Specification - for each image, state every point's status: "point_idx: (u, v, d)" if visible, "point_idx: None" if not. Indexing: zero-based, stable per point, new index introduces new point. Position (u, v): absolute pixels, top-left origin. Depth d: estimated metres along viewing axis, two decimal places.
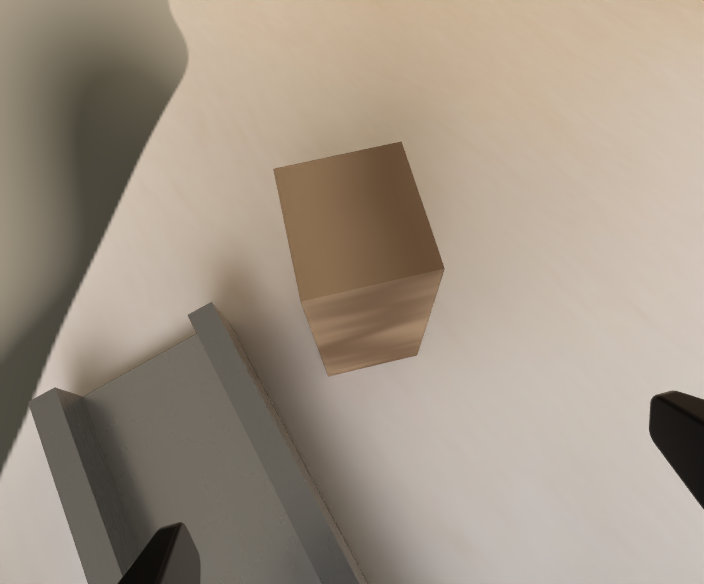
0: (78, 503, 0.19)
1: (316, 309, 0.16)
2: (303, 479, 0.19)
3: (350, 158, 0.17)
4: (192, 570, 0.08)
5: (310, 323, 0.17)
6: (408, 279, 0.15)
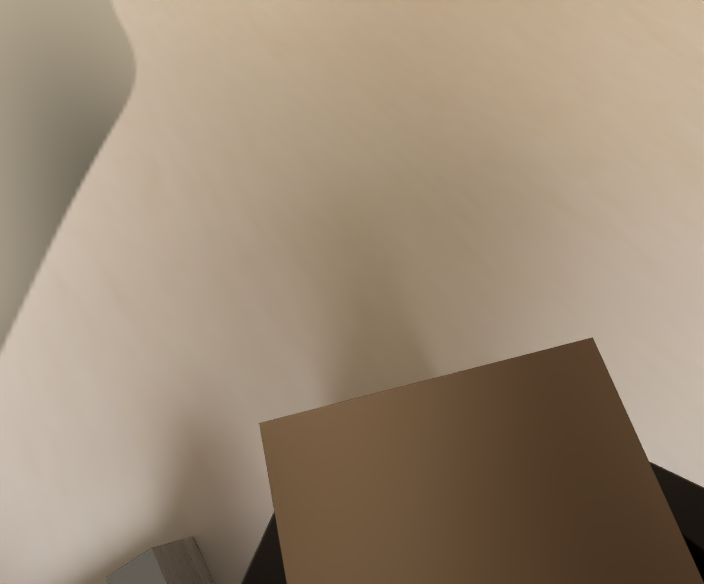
0: None
1: None
2: None
3: (464, 390, 0.06)
4: None
5: None
6: None
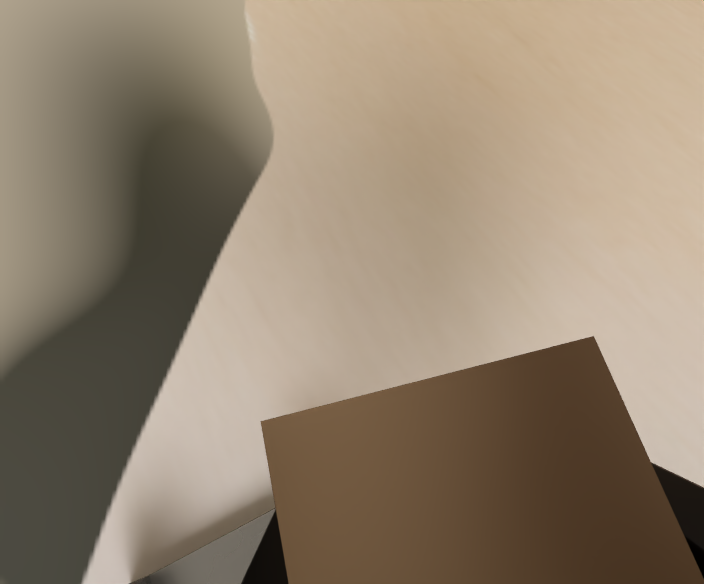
0: None
1: None
2: None
3: (465, 389, 0.06)
4: None
5: None
6: None
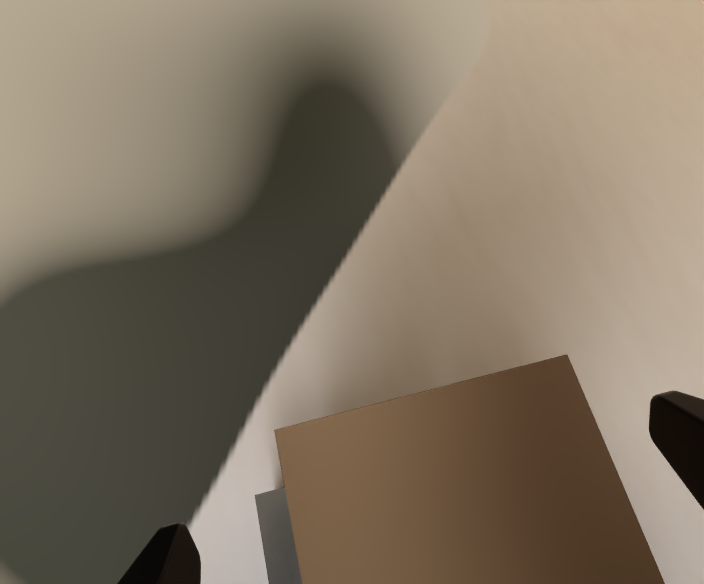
0: None
1: None
2: None
3: (454, 401, 0.07)
4: (192, 570, 0.08)
5: None
6: None
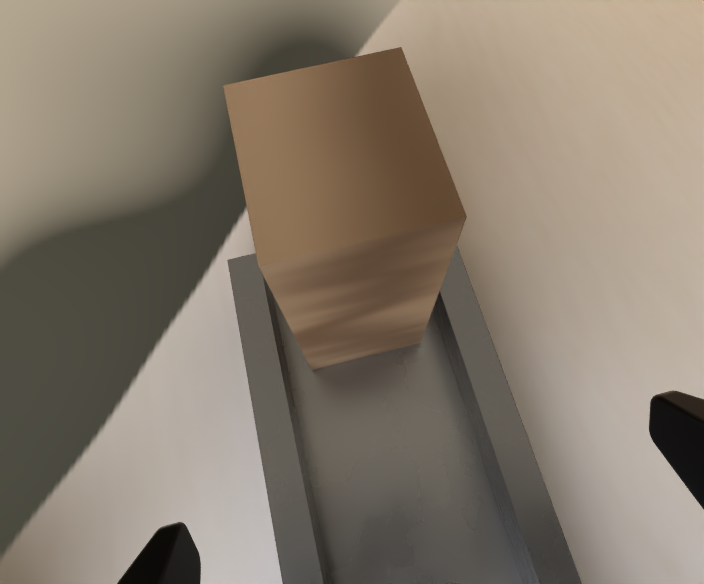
0: (265, 381, 0.17)
1: (283, 279, 0.11)
2: (524, 433, 0.16)
3: (330, 70, 0.12)
4: (192, 570, 0.08)
5: (278, 300, 0.12)
6: (413, 233, 0.10)
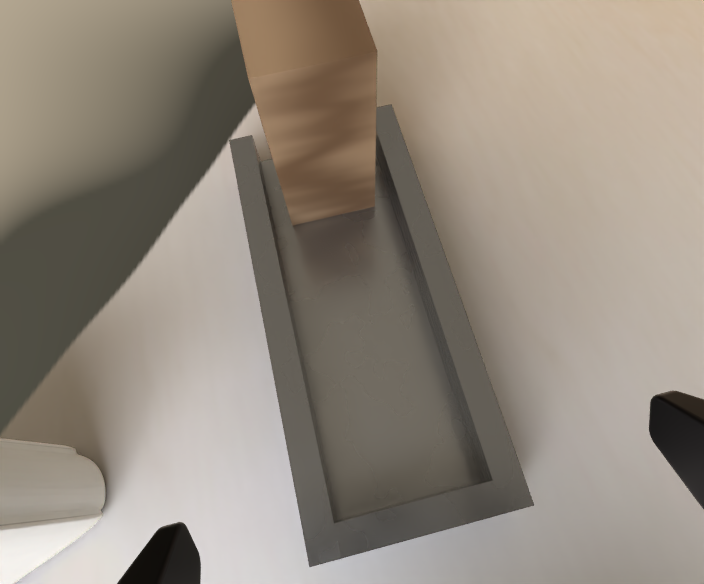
0: (256, 219, 0.23)
1: (264, 97, 0.17)
2: (442, 250, 0.23)
3: None
4: (192, 570, 0.08)
5: (262, 121, 0.18)
6: (344, 62, 0.17)
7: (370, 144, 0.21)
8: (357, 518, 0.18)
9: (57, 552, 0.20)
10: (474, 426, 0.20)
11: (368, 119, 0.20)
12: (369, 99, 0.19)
